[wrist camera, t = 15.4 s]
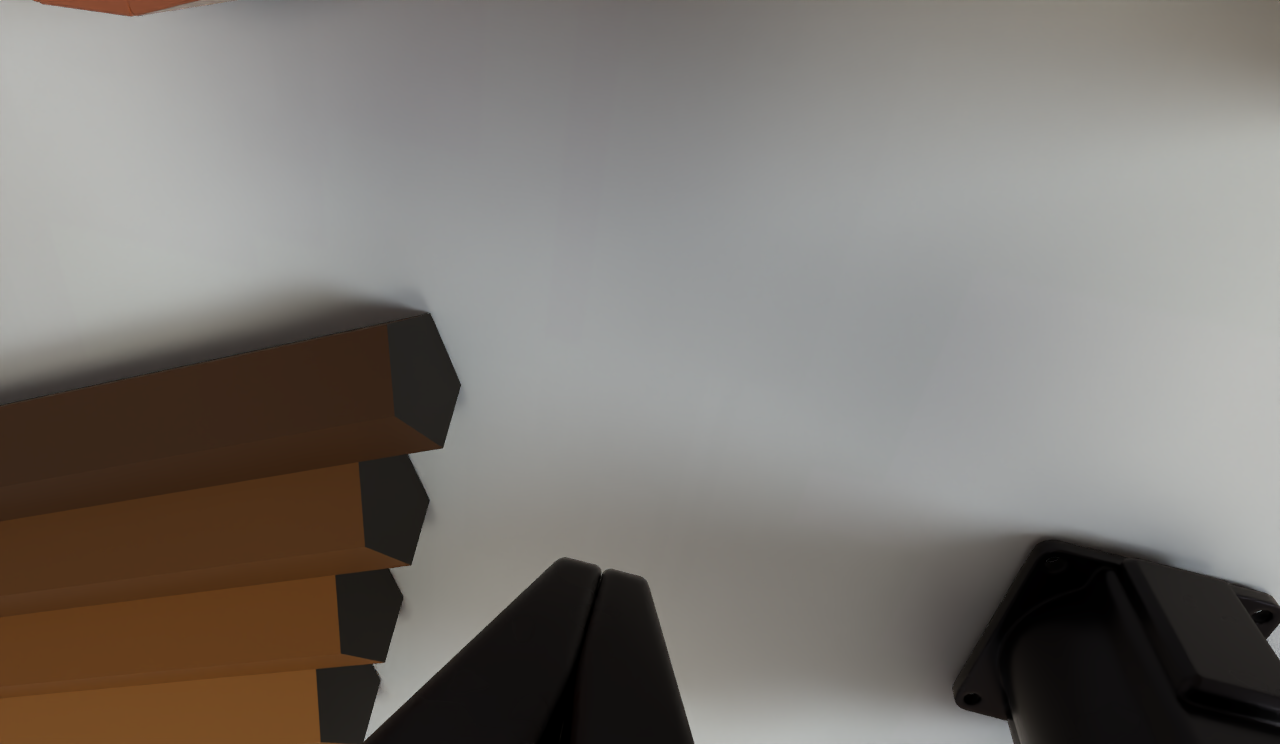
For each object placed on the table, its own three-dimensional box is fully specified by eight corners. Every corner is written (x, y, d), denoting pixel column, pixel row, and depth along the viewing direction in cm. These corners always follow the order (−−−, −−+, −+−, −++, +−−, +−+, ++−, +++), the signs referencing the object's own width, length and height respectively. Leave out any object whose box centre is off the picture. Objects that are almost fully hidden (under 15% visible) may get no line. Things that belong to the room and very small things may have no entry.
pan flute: (420, 289, 21) (-236, 435, 28) (362, 349, 19) (-356, 497, 25) (668, 871, 32) (152, 880, 39) (656, 967, 29) (100, 959, 36)
